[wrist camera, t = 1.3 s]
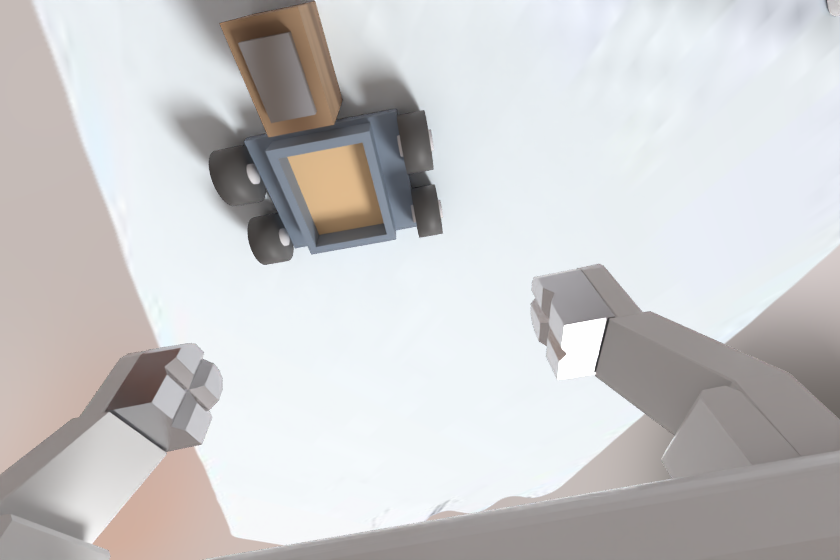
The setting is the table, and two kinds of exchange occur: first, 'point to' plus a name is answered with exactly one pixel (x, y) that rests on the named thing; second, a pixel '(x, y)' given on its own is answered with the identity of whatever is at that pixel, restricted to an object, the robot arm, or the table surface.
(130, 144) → the table surface
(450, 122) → the table surface
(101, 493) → the robot arm
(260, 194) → the chassis
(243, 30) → the brown box
